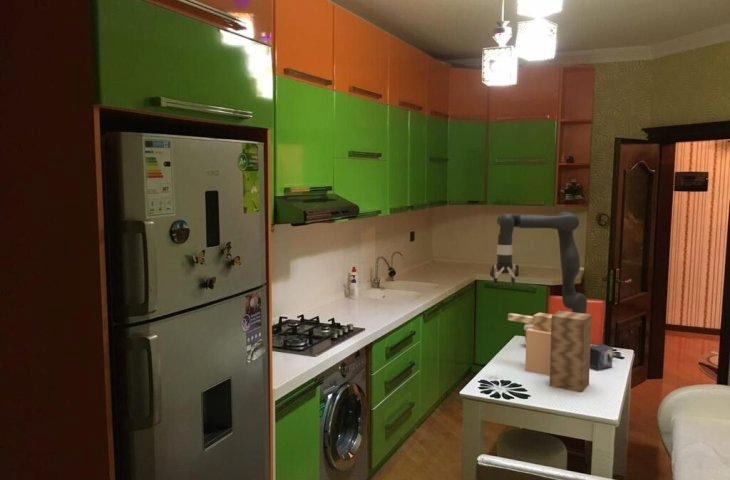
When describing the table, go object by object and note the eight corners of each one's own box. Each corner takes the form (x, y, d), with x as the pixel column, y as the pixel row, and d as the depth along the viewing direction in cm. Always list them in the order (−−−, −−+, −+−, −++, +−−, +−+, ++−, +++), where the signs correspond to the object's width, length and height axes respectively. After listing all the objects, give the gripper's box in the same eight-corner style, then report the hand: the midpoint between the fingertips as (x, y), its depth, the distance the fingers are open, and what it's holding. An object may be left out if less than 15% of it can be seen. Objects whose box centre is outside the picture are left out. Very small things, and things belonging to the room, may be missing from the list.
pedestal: (525, 370, 277) (526, 330, 275) (533, 363, 287) (534, 324, 285) (554, 376, 269) (555, 334, 267) (561, 369, 279) (563, 328, 277)
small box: (597, 371, 275) (598, 350, 274) (586, 367, 281) (587, 346, 280) (612, 368, 280) (613, 347, 279) (601, 364, 286) (602, 343, 285)
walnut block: (549, 386, 256) (551, 315, 253) (557, 378, 266) (559, 310, 263) (581, 392, 249) (584, 320, 245) (588, 384, 258) (591, 314, 255)
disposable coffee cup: (526, 343, 321) (527, 322, 320) (543, 346, 316) (544, 325, 314) (520, 348, 313) (521, 326, 312) (537, 351, 308) (538, 329, 307)
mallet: (505, 324, 285) (506, 310, 284) (512, 322, 290) (512, 308, 289) (551, 332, 270) (551, 318, 269) (557, 329, 275) (557, 315, 275)
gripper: (493, 254, 286) (492, 286, 288) (521, 254, 288) (520, 286, 289) (488, 252, 294) (488, 284, 296) (515, 252, 295) (515, 283, 297)
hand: (504, 285), depth 292 cm, fingers open, 8 cm apart
